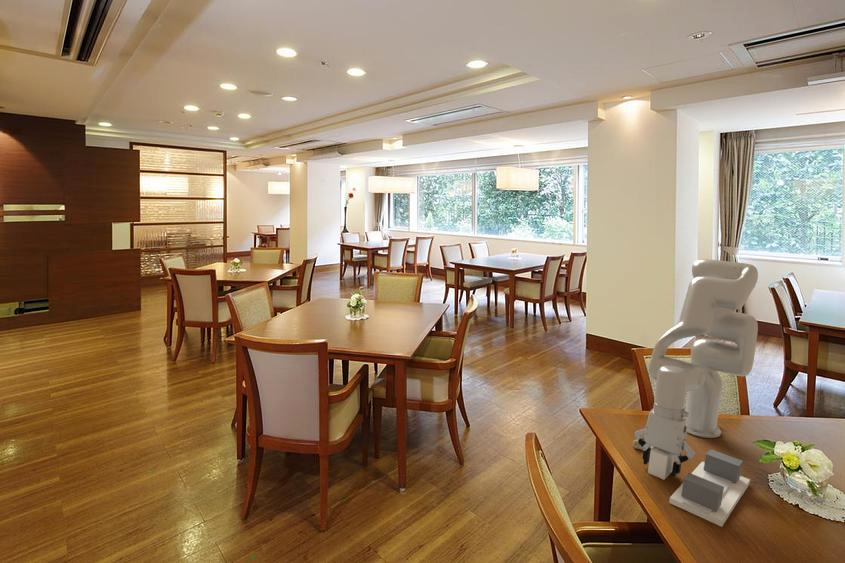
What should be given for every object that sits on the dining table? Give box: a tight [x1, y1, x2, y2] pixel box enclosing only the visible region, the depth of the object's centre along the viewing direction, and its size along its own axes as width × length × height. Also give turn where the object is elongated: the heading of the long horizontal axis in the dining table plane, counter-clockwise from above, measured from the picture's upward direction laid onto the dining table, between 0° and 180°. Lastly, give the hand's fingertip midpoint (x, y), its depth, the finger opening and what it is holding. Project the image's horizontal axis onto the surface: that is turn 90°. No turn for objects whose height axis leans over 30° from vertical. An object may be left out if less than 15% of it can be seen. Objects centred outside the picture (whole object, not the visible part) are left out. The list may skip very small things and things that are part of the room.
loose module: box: [647, 447, 675, 480], centre depth 136 cm, size 6×4×7 cm
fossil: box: [632, 439, 654, 450], centre depth 149 cm, size 7×11×3 cm, turn 57°
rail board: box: [668, 449, 751, 527], centre depth 127 cm, size 26×12×7 cm, turn 134°
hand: (660, 467), depth 137 cm, fingers open, 7 cm apart
